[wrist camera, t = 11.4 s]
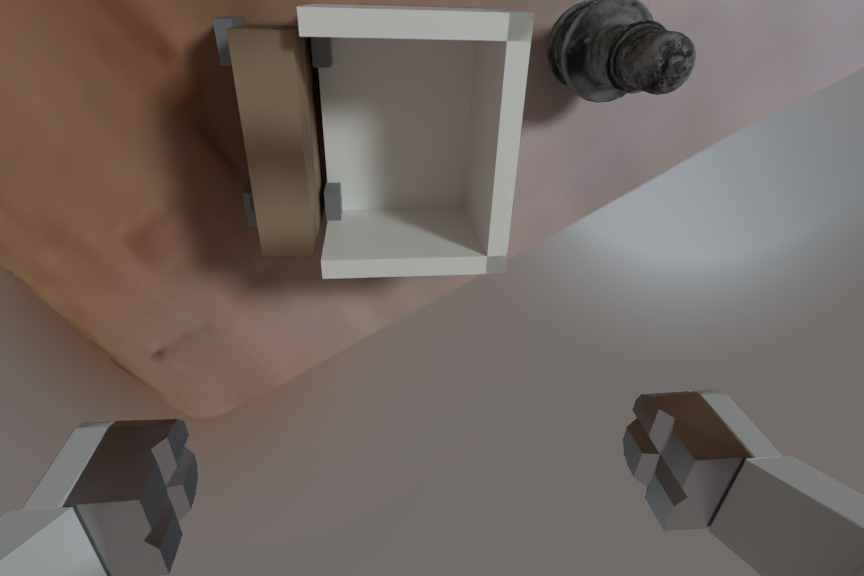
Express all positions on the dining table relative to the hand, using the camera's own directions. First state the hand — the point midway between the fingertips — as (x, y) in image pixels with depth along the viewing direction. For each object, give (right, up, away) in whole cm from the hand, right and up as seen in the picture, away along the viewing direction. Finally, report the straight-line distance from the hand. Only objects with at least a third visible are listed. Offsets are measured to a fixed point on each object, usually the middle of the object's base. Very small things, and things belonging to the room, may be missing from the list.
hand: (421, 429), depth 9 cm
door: (-9, +14, +24) cm, 29 cm away
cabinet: (-4, +14, +25) cm, 29 cm away
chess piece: (+10, +19, +24) cm, 32 cm away
